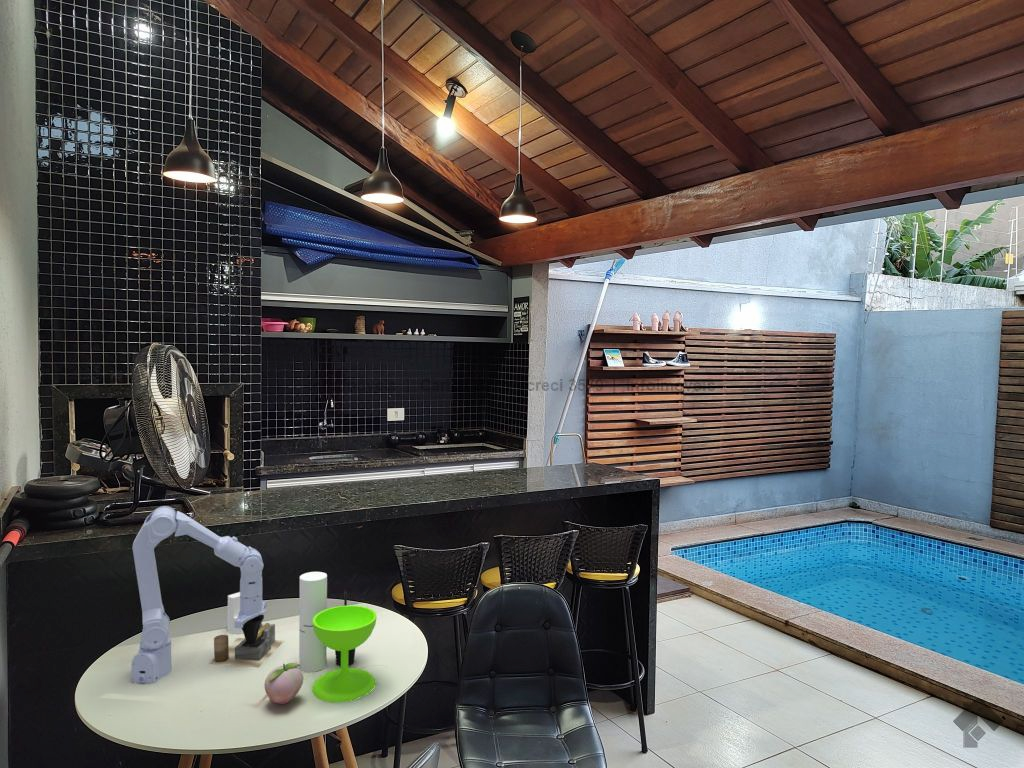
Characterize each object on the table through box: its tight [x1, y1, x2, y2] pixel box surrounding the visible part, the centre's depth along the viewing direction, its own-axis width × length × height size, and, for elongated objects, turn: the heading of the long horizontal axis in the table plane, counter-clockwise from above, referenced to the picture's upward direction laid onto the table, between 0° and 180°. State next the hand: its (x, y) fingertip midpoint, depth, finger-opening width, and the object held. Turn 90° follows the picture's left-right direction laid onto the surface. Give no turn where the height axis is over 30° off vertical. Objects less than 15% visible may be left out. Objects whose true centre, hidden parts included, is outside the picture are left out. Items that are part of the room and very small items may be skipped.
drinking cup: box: [334, 590, 356, 667], centre depth 182 cm, size 8×8×20 cm
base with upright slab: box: [226, 591, 244, 635], centre depth 200 cm, size 9×9×12 cm
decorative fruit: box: [263, 662, 305, 705], centre depth 161 cm, size 9×8×10 cm
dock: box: [208, 623, 285, 668], centre depth 184 cm, size 16×14×6 cm
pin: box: [256, 622, 271, 641], centre depth 187 cm, size 9×2×2 cm, turn 175°
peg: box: [213, 634, 230, 662], centre depth 180 cm, size 4×4×6 cm
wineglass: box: [311, 604, 378, 703], centre depth 169 cm, size 16×16×18 cm
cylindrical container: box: [298, 571, 328, 673], centre depth 179 cm, size 7×7×25 cm
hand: (251, 642), depth 182 cm, fingers closed
